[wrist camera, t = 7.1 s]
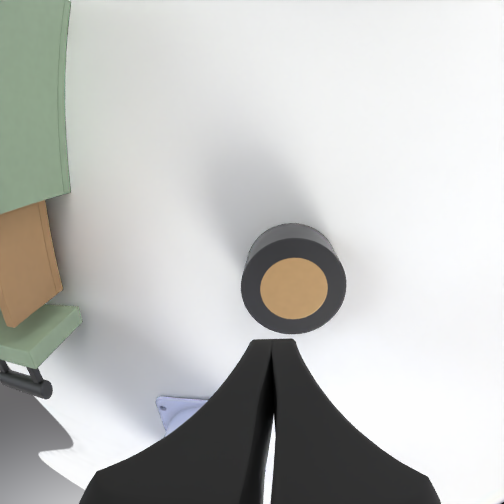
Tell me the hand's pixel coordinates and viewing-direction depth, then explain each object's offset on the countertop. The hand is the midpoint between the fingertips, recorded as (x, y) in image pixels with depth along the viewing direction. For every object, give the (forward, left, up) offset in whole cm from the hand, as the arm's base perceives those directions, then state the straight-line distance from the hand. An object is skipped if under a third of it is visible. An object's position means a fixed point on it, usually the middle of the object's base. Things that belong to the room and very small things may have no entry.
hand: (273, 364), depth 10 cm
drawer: (+1, +18, -7) cm, 20 cm away
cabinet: (+12, +18, -8) cm, 23 cm away
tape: (0, -1, -8) cm, 8 cm away
